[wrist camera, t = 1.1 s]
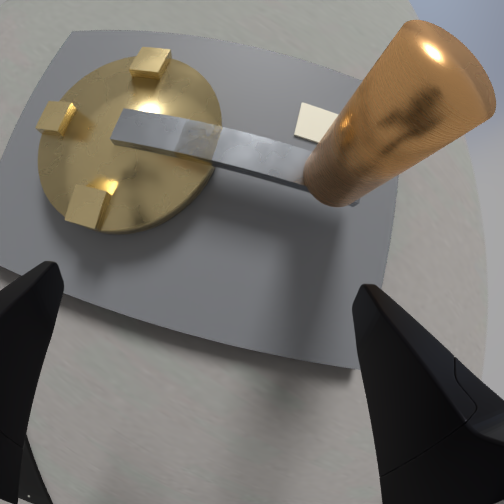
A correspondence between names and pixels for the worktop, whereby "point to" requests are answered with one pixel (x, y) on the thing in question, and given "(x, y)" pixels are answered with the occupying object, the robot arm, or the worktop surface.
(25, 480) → the cell phone
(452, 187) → the worktop surface
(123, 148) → the brass wheel crank mechanism
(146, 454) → the worktop surface
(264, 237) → the grey rectangular board
